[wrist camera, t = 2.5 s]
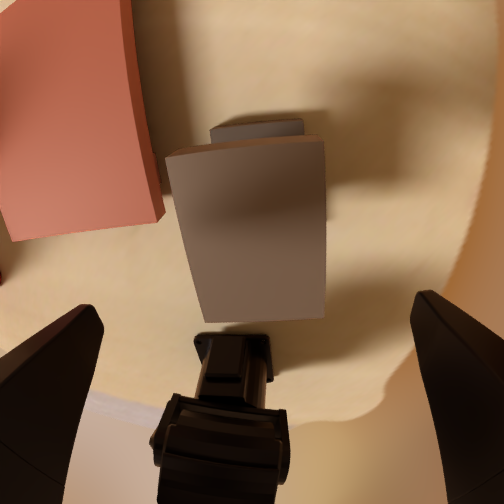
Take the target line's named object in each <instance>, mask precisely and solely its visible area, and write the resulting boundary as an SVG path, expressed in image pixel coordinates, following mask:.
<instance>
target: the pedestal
mask: <svg viewBox="0 0 504 504" xmlns="http://www.w3.org/2000/svg"><path fill="white" fill-rule="evenodd" d="M210 136H211V143H212V144H207V145H200V146H193V147H187V148H181V149H178V150H176V151H175V152H173V153H171V154H170V155H168V156H167V157H165V161H166V166H167V171H168V176H169V181H170V186H171V190H172V195H173V200H174V204H175V209H176V213H177V217H178V222H179V226H180V230H181V234H182V238H183V243H184V247H185V251H186V255H187V259H188V262H189V266H190V270H191V274H192V278H193V282H194V285H195V289H196V293H197V296H198V300H199V303H200V307H201V310H202V314H203V317H204V321H205V323H221V322H261V321H284V320H303V319H318V318H324V309H325V283H326V181H325V156H324V141H323V140H322V139H321V138H320V137H319V136H318V135H304V124H303V120H302V119H285V120H272V121H261V122H250V123H241V124H233V125H225V126H217V127H214V128H212V129H210Z"/></svg>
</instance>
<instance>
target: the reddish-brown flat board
mask: <svg viewBox="0 0 504 504" xmlns="http://www.w3.org/2000/svg"><path fill="white" fill-rule="evenodd" d="M159 184H161V178H160V174H159V169H158V164H157V159H156V154H155V153H153V152H152V147H151V142H150V137H149V131H148V126H147V120H146V115H145V109H144V103H143V97H142V90H141V84H140V77H139V70H138V62H137V55H136V46H135V38H134V28H133V18H132V6H131V0H16V1H15V2H14V3H12V4H11V5H10V6H9V7H8V8H6V9H5V10H4V11H3V12H2V13H0V210H1V213H2V216H3V218H4V221H5V224H6V227H7V229H8V232H9V234H10V237H11V240H12V242H16V241H22V240H28V239H35V238H41V237H48V236H55V235H62V234H69V233H76V232H84V231H91V230H99V229H107V228H115V227H123V226H132V225H140V224H149V223H157V222H158V221H159V220H160V219H161V217H162V216H163V215H164V214H165V213H166V211H165V207H164V203H163V198H162V194H161V190H160V185H159Z"/></svg>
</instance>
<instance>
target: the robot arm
mask: <svg viewBox="0 0 504 504" xmlns="http://www.w3.org/2000/svg"><path fill="white" fill-rule="evenodd" d="M410 324H411V328H412V333H413V337H414V342H415V347H416V352H417V357H418V362H419V367H420V372H421V376H422V379H423V383H424V387H425V390H426V394H427V397H428V401H429V405H430V409H431V413H432V417H433V421H434V426H435V430H436V435H437V439H438V444H439V449H440V454H441V460H442V465H443V472H444V478H445V485H446V492H447V500H448V504H504V340H503V339H502V338H501V337H499V336H498V335H496V334H495V333H494V332H492V331H491V330H490V329H488V328H487V327H485V326H484V325H482V324H481V323H480V322H478V321H477V320H476V319H474V318H473V317H471V316H469V315H468V314H467V313H466V312H464V311H463V310H461V309H460V308H458V307H457V306H455V305H454V304H452V303H451V302H449V301H448V300H446V299H445V298H443V297H442V296H440V295H439V294H437V293H436V292H434V291H433V290H423V291H418V292H417V294H416V296H415V300H414V303H413V307H412V311H411V315H410ZM103 334H104V325H103V323H102V321H101V319H100V317H99V315H98V313H97V311H96V309H95V307H94V306H93V305H91V304H80V305H78V306H77V307H75V308H74V309H72V310H71V311H69V312H68V313H66V314H65V315H63V316H61V317H60V318H58V319H57V320H55V321H54V322H52V323H51V324H49V325H48V326H46V327H45V328H43V329H42V330H40V331H39V332H37V333H36V334H34V335H33V336H31V337H30V338H29V339H27V340H26V341H24V342H23V343H21V344H20V345H18V346H17V347H15V348H14V349H13V350H11V351H10V352H8V353H7V354H5V355H4V356H3V357H1V358H0V504H62V501H63V495H64V489H65V483H66V477H67V472H68V467H69V463H70V458H71V454H72V450H73V446H74V442H75V438H76V433H77V429H78V426H79V422H80V419H81V415H82V412H83V408H84V405H85V401H86V398H87V395H88V391H89V388H90V385H91V382H92V379H93V375H94V371H95V367H96V363H97V359H98V354H99V350H100V346H101V342H102V338H103ZM198 340H199V341H198ZM263 340H265V341H263ZM194 345H195V348H196V350H197V353H198V356H199V359H200V361H201V364H202V368H201V372H200V376H199V380H198V384H197V388H196V393H195V397H194V398H191V397H186V396H181V394H177V393H173V396H172V398H171V400H170V401H168V403H167V405H166V408H165V411H164V413H163V415H162V418H161V420H160V423H159V425H158V427H157V428H156V430H155V431H154V433H153V434H152V436H151V438H150V441H149V444H150V446H151V447H152V449H153V454H154V464H155V466H157V467H160V475H159V483H158V495H157V503H158V504H274V502H275V497H276V491H277V486H278V485H283V484H284V482H285V481H286V478H287V475H288V471H289V465H290V441H289V431H288V422H287V413H286V410H285V409H279V410H272V409H265V396H266V383H270V382H273V380H274V374H273V365H272V356H271V347H270V338H269V336H267V335H263V334H262V335H197V336H195V338H194Z"/></svg>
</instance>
